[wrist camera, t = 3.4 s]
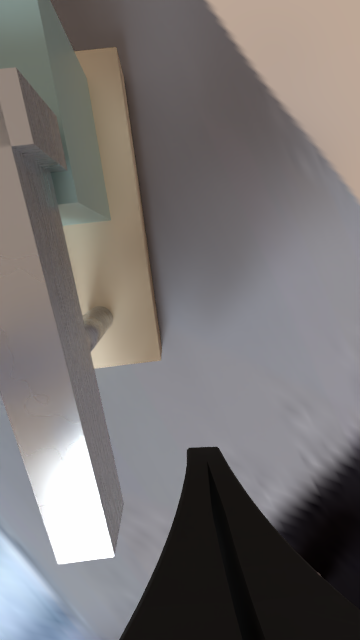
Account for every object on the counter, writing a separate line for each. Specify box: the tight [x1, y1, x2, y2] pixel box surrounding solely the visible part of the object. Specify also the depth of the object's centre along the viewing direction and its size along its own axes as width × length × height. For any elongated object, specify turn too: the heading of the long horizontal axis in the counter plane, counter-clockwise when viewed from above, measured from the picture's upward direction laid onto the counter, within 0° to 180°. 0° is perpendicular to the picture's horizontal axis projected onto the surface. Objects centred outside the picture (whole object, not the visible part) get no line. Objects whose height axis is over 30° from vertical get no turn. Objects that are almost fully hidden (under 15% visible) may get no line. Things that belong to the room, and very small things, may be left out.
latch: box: [0, 67, 124, 564], centre depth 11 cm, size 14×3×7 cm, turn 6°
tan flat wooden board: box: [63, 47, 162, 369], centre depth 14 cm, size 12×15×2 cm
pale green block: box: [0, 0, 111, 226], centre depth 10 cm, size 5×6×5 cm
